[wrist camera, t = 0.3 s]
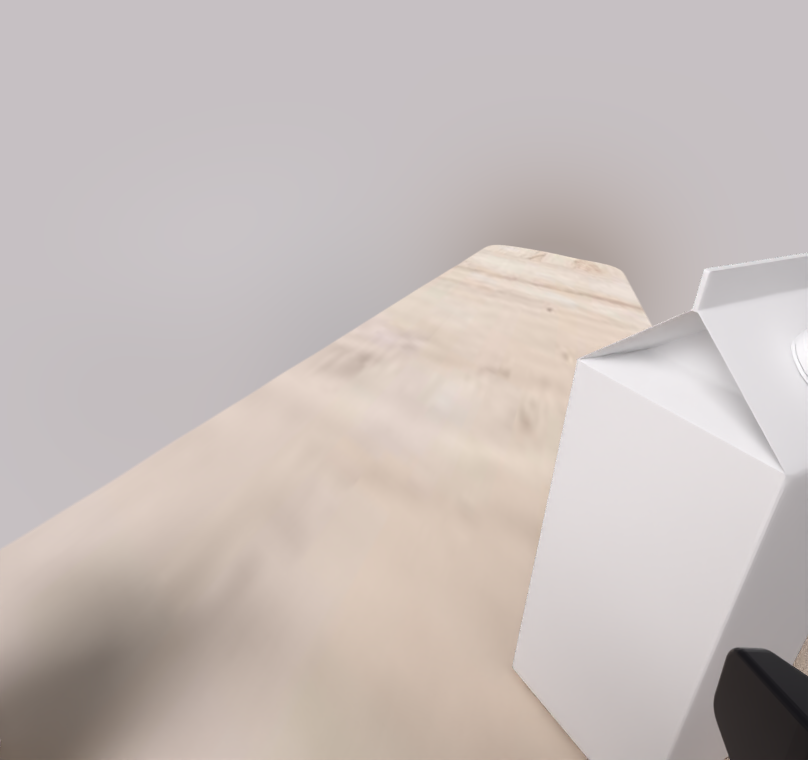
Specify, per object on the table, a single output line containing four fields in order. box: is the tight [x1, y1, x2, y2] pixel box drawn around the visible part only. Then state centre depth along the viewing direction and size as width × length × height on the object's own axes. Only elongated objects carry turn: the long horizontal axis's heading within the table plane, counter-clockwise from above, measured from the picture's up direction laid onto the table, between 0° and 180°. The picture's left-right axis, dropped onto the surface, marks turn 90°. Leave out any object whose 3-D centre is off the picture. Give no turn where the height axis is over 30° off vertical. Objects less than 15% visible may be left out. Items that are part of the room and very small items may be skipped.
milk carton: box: [513, 253, 808, 760], centre depth 22 cm, size 7×7×19 cm
